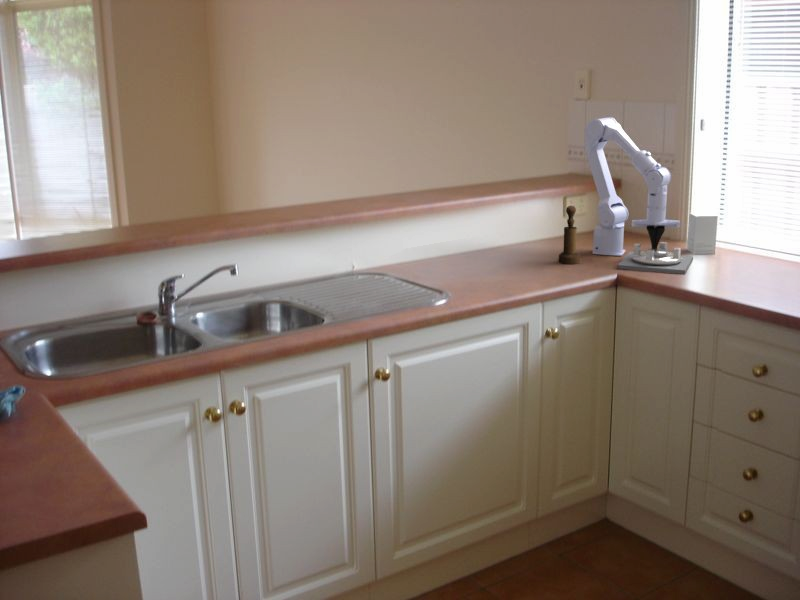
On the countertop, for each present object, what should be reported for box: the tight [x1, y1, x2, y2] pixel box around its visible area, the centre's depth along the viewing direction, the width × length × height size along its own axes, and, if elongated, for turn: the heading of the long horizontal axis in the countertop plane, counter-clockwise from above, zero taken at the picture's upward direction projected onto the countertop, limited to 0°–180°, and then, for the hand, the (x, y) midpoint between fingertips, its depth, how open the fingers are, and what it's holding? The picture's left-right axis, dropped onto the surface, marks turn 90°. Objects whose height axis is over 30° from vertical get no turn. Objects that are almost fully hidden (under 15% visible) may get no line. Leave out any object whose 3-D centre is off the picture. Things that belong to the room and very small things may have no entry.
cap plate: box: [617, 251, 694, 275], centre depth 295 cm, size 20×20×1 cm
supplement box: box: [686, 211, 719, 255], centre depth 310 cm, size 7×7×13 cm
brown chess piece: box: [558, 205, 581, 265], centre depth 297 cm, size 7×6×18 cm
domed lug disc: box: [632, 241, 682, 265], centre depth 294 cm, size 15×15×4 cm
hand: (654, 249), depth 300 cm, fingers closed
